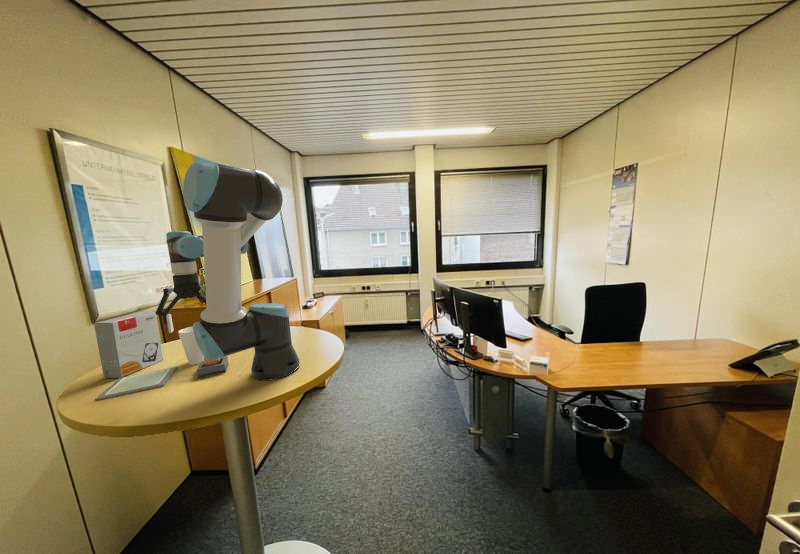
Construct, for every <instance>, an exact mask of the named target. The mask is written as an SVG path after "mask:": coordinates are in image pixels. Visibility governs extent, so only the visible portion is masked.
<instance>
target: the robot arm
mask: <svg viewBox="0 0 800 554" xmlns="http://www.w3.org/2000/svg"><path fill="white" fill-rule="evenodd" d="M182 187H183V188H182V191H183V192H182V193H183V194H182V195H183V199H184V200H183V202H184V206H185V208H186V209H187V211H190V212H192V213H193V215H194V219H195V220H196V221H198V222H199V223H200V224H201V226H202V227H201V229H202V235H194V234H192V233H191V232H190V231H178V230H175V231H169V232H166V233H165V235H166V238H165V239H166V240H165V243H166V244H167V249H168V256H169V263H170V268H171V274H173V275H172V277H171V278H172V282H173V287H171V288H170V287H166V288H164V289H163V295H162V297H161V300H160V302H159V304H158V306H157V308H156V311H155V312H156V313H155V314H156V315H157V316H162V320H163V324H164V325H167V330H168V334H171V333H173V332H174V331H175V330H174V323H173V319H172V318H173V317H172V314H171V313H170V312H171V310H172V309H173V308H174V307H175V306H176V304H177V303H178V301H180V299H182V300H186V299H194V298H196V299H199V300H200V301H201V302H203V303H204V304H205V305H206V307H205V309H204V310H202V311H201V313H200V320H199V321H196V322H194V323H192V324H193V325H192V326H193V332H194V336H195V339H196V342H197V344H198V347H199V349H200V351H201V353H202V354H203V356H204V357H205V358H206V359H209V360H214V359H218V358H221V357H226V356H227V357H229V356H231V355H234V354H236V353H240V352H243V351H246V350H249V349H254V355H253V360H252V364H251V367H250V373H251V377H252V378H253V379H254V380H257V381H271V379H273V380H276V379H275V378H278V379H280V378H279V377H281V378H283V377H282V376H284V377H286V376H285V375H287V374H289V373H291V372H292V371H294V370H295V369H296V368H297V367H298V366H299V364H300V359H299V356H298V354H297V351H296V350H295V348H294V346H293V341H292V332H291V322H290V313H289V310H288V307H287V306H286V305H285V304H282V303H272V302H270V303H265V302H264V303H255V304H250V305H249V307H248V309H247V308H246V307H244V306H243V305H242V255H245V254H246V253H247V252H248V251H249V240H250V239H251V238H252V237H253V236H254V235H255V233H257V232H258V230H259V229H260V228H261V227H262V226H263V225H264V224H265V223H266V222H267V221H271V220H273V219H274V218H275V217H276V216H277V215H278V214H279V213H280V211H281V209H282V206H283V201H284V200H283V193H282V189H281V188H280V186H279V184H278V182H276V180H275V179H274V178H273V177H272V176H270V174H267V173H265V172H264V171H261V170H259V169H252V168H245V167H239V166H232V165H226V164H221V163H216V162H204V161H203V162H202V161H196V162H193V163H191V164H190V165H189V166H188V168H187V170H186V172H185V175H184V179H183V186H182ZM197 258H203V266H204V267H203V268H204V283H205V284H204V285H200V281H199V275H198V273H197V271H198V269H197V268H198V267H197V261H196V259H197ZM201 290H202V291H205V296H204V295H203V294H202V293H201ZM172 293H174V294H176V296H175V297H174V298H173V300H171V302H170V303H169V304H168V306H167V307H166V308H165V309H164V307H165V306H166V304H167V301H168V299H169V296H170V295H171V294H172ZM299 367H300V366H299ZM291 374H292V373H291ZM289 375H290V374H289ZM287 376H288V375H287Z"/></svg>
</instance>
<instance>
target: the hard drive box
mask: <svg viewBox="0 0 800 554" xmlns="http://www.w3.org/2000/svg"><path fill="white" fill-rule="evenodd" d="M155 313H156V311H150V312H149V311H147V312H145V311H143V312H140V311H139V312H136V313H132V314H128V315H123V316H118V317H115V318H114V317H113V318H110V319H107V320H106V319H105V320H102V321H97V322H95V323H94V324H93V325H94V326H93V327H94V331H95V337H96V343H97V348H98V353H99V358H100V362H101V368H102V369H101V370H102V375H103V378H106V379H107V378H109V379H119V378H122V377H127V376H130V375H132V374H134V373H136V372H138V371H141V370H144V369H145V368H147V367H150V366H154V365H155V364H158V363H159V362H160V363H161V362H162V361H164V358H163V357H164V355H163V350H162V343H161V336H160V329H159V323H158V317H157V316H158V315H156V314H155ZM131 373H132V374H131Z"/></svg>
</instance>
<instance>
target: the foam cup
mask: <svg viewBox="0 0 800 554" xmlns="http://www.w3.org/2000/svg"><path fill="white" fill-rule="evenodd" d="M178 337H179V339H180V341H181V344H182V347H183V350H184V354H185V356H186V360H187V363H188V364H189V365H191V366H193V365H200V363H201V361H204V356H203V354H202V353H201V351H200V349H199V347H198V344H197V342H196V339H195V336H194V332H193V325H192V326H188V327H185V328H182V329H180V330H178Z"/></svg>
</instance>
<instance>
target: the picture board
mask: <svg viewBox="0 0 800 554" xmlns="http://www.w3.org/2000/svg"><path fill="white" fill-rule="evenodd" d="M177 369H178V366H174V367H170V368H169V367H167V368H164V369H160V370H152V371H148V372H144V373H143V372H142V373H138V374H133V375H132V374H131V375H126V376H124V377H122V378H117V380H115V381H114V382H113V383H112V384H111V385H109V386H108V387H107V388H106V389H105V390H104V391H103V392H102V393H101V394H99V395H98V396H97V397H96V398H94V399H95V401H96V400H98V401H102V400H106V398H107V399H110V398H111V397H112V398H115V396H116V397H120V396H119V395H121V396H125V395H124V394H126V395H129V393H130V394H133V393H134V392H135V393H138V392H144V391H148V390H152V389H156V388H157V389H158V388H162V387H164V386H165V385H166V384H167V382H169V380H170V378H171V377H172V376H173V375H174V374H175V372H176V371H177ZM101 399H102V400H101Z"/></svg>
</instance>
